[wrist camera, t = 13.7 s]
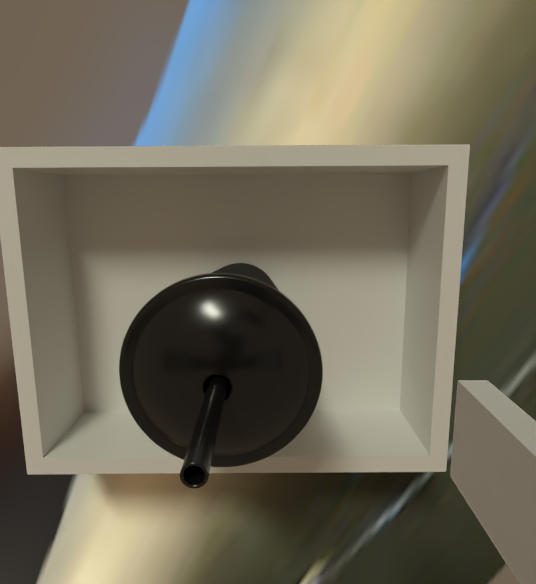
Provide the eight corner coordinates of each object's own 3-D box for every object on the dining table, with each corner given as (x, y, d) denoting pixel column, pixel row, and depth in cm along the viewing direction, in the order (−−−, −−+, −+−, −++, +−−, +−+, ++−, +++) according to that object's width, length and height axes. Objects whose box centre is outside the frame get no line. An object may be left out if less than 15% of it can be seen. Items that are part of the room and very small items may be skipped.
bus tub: (423, 158, 30) (469, 144, 23) (408, 416, 33) (446, 471, 26) (54, 160, 30) (-10, 147, 23) (77, 418, 33) (27, 474, 26)
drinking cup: (273, 369, 31) (285, 648, 12) (168, 330, 31) (-5, 556, 11) (316, 266, 30) (408, 388, 10) (206, 223, 30) (85, 268, 10)
